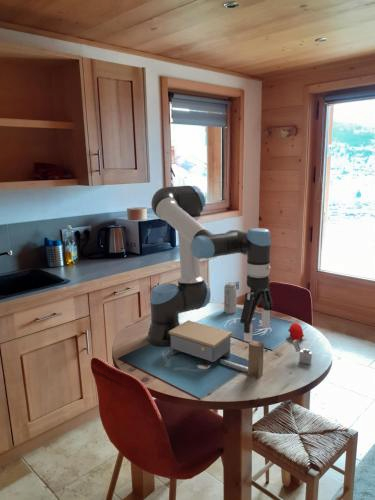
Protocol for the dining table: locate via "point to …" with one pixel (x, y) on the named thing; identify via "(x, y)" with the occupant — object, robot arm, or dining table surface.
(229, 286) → the energy drink can
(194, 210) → the robot arm
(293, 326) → the red egg shape
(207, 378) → the dining table surface
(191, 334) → the cabinet
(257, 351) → the blade tool
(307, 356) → the lighter
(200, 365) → the steel token
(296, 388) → the dining table surface
